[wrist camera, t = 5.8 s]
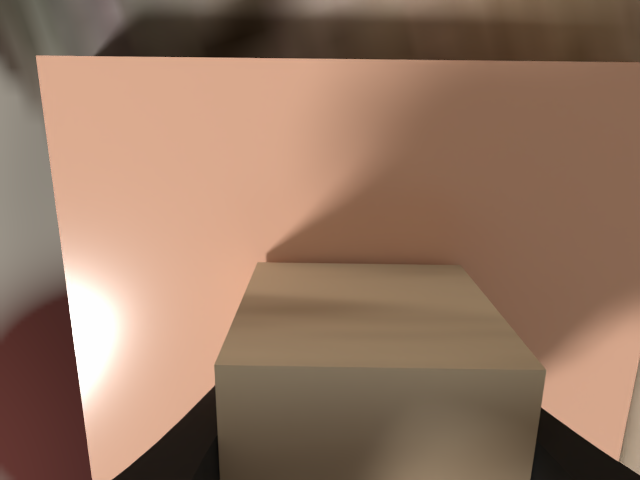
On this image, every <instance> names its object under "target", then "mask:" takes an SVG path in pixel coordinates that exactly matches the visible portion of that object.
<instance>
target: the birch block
mask: <svg viewBox="0 0 640 480" xmlns="http://www.w3.org/2000/svg"><path fill="white" fill-rule="evenodd" d="M214 371H215V391H216V410H217V430H218V450H219V470H220V480H530V479H531V472H532V465H533V459H534V452H535V445H536V438H537V431H538V425H539V418H540V411H541V404H542V397H543V391H544V384H545V377H546V369H545V368H544V366H543V365H542V364H541V363H540V362H539V360H538V359H537V358H536V357H535V355H534V354H533V353H532V352H531V351H530V349H529V348H528V347H527V346H526V344H525V343H524V342H523V341H522V340H521V338H520V337H519V336H518V335H517V334H516V332H515V331H514V330H513V329H512V327H511V326H510V325H509V324H508V323H507V321H506V320H505V319H504V318H503V316H502V315H501V314H500V313H499V312H498V310H497V309H496V308H495V307H494V305H493V304H492V303H491V302H490V301H489V299H488V298H487V297H486V296H485V294H484V293H483V292H482V291H481V290H480V288H479V287H478V286H477V285H476V283H475V282H474V281H473V280H472V279H471V277H470V276H469V275H468V274H467V272H466V271H465V270H464V269H463V268H462V266H461V265H417V264H346V263H274V262H257V265H256V267H255V269H254V272H253V274H252V277H251V279H250V281H249V284H248V286H247V288H246V291H245V293H244V296H243V298H242V300H241V303H240V305H239V307H238V310H237V312H236V315H235V317H234V319H233V322H232V324H231V326H230V329H229V331H228V333H227V336H226V338H225V341H224V343H223V345H222V348H221V350H220V352H219V355H218V357H217V360H216V362H215V364H214Z"/></svg>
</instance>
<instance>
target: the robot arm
mask: <svg viewBox="0 0 640 480" xmlns="http://www.w3.org/2000/svg"><path fill="white" fill-rule="evenodd" d="M112 480H220V470H219V450H218V430H217V410H216V391H215V386H214V387H213V388H212V389H211V390H210V391H209V392H208V393H207V394H206V395H205V396H204V397H203V398H202V399H201V400H200V401H199V402H198V403H197V404H196V405H195V406H194V407H193V408H192V409H191V410H190V411H189V412H188V413H187V414H186V415H185V416H184V417H183V418H182V419H181V420H180V421H179V422H178V423H177V424H176V425H175V426H174V427H172V428H171V429H170V430H169V431H168V432H167V433H166V434H165V435H164V436H163V437H162V438H161V439H160V440H159V441H158V442H157V443H155V444H154V445H153V446H152V447H151V448H150V449H149V450H147V451H146V452H145V453H144V454H143V455H142V456H140V457H139V458H138V459H137V460H136V461H135V462H133V463H132V464H131V465H130V466H129V467H127V468H126V469H125V470H124V471H122V472H121V473H120V474H119V475H117V476H116V477H115V478H113V479H112ZM530 480H640V475H638V474H637V473H635V472H634V471H632V470H631V469H629V468H628V467H626V466H624V465H623V464H621V463H620V462H618V461H617V460H615V459H614V458H612V457H611V456H609V455H608V454H606V453H605V452H603V451H602V450H600V449H599V448H597V447H596V446H594V445H593V444H591V443H590V442H589V441H587V440H586V439H584V438H583V437H582V436H580V435H579V434H577V433H576V432H574V431H573V430H572V429H570V428H569V427H568V426H566V425H565V424H563V423H562V422H561V421H559V420H558V419H556V418H555V417H554V416H552V415H551V414H550V413H548V412H547V411H546V410H544V409H543V408H541V411H540V418H539V425H538V431H537V438H536V445H535V452H534V459H533V465H532V472H531V479H530Z"/></svg>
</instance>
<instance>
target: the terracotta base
mask: <svg viewBox="0 0 640 480" xmlns="http://www.w3.org/2000/svg"><path fill="white" fill-rule="evenodd" d="M36 60H37V68H38V75H39V83H40V90H41V98H42V105H43V113H44V120H45V128H46V135H47V143H48V150H49V158H50V165H51V173H52V179H53V188H54V195H55V203H56V210H57V217H58V225H59V233H60V240H61V248H62V256H63V263H64V270H65V278H66V286H67V293H68V300H69V308H70V316H71V323H72V330H73V338H74V346H75V353H76V360H77V368H78V376H79V383H80V391H81V398H82V406H83V413H84V420H85V428H86V436H87V443H88V451H89V458H90V466H91V473H92V480H112V479H113V478H115V477H116V476H117V475H119V474H120V473H121V472H122V471H124V470H125V469H126V468H127V467H129V466H130V465H131V464H132V463H133V462H135V461H136V460H137V459H138V458H139V457H140V456H142V455H143V454H144V453H145V452H146V451H147V450H149V449H150V448H151V447H152V446H153V445H154V444H155V443H157V442H158V441H159V440H160V439H161V438H162V437H163V436H164V435H165V434H166V433H167V432H168V431H169V430H170V429H171V428H172V427H174V426H175V425H176V424H177V423H178V422H179V421H180V420H181V419H182V418H183V417H184V416H185V415H186V414H187V413H188V412H189V411H190V410H191V409H192V408H193V407H194V406H195V405H196V404H197V403H198V402H199V401H200V400H201V399H202V398H203V397H204V396H205V395H206V394H207V393H208V392H209V391H210V390H211V389H212V388H213V387H214V386H215V371H214V364H215V362H216V360H217V357H218V355H219V352H220V350H221V348H222V345H223V343H224V341H225V338H226V336H227V333H228V331H229V329H230V326H231V324H232V322H233V319H234V317H235V315H236V312H237V310H238V307H239V305H240V303H241V300H242V298H243V296H244V293H245V291H246V288H247V286H248V284H249V281H250V279H251V277H252V274H253V272H254V269H255V267H256V265H257V262H274V263H346V264H417V265H461V266H462V268H463V269H464V270H465V271H466V272H467V274H468V275H469V276H470V277H471V279H472V280H473V281H474V282H475V283H476V285H477V286H478V287H479V288H480V290H481V291H482V292H483V293H484V294H485V296H486V297H487V298H488V299H489V301H490V302H491V303H492V304H493V305H494V307H495V308H496V309H497V310H498V312H499V313H500V314H501V315H502V316H503V318H504V319H505V320H506V321H507V323H508V324H509V325H510V326H511V327H512V329H513V330H514V331H515V332H516V334H517V335H518V336H519V337H520V338H521V340H522V341H523V342H524V343H525V344H526V346H527V347H528V348H529V349H530V351H531V352H532V353H533V354H534V355H535V357H536V358H537V359H538V360H539V362H540V363H541V364H542V365H543V366H544V368H545V369H546V377H545V384H544V391H543V397H542V404H541V408H543V409H544V410H546V411H547V412H548V413H550V414H551V415H552V416H554V417H555V418H556V419H558V420H559V421H561V422H562V423H563V424H565V425H566V426H568V427H569V428H570V429H572V430H573V431H574V432H576V433H577V434H579V435H580V436H582V437H583V438H584V439H586V440H587V441H589V442H590V443H591V444H593V445H594V446H596V447H597V448H599V449H600V450H602V451H603V452H605V453H606V454H608V455H609V456H611V457H612V458H614V459H615V460H617V461H618V462H619V457H620V452H621V447H622V442H623V437H624V432H625V428H626V423H627V418H628V413H629V408H630V403H631V398H632V393H633V388H634V383H635V378H636V373H637V368H638V363H639V359H640V62H572V61H480V60H389V59H298V58H206V57H115V56H36Z"/></svg>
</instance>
